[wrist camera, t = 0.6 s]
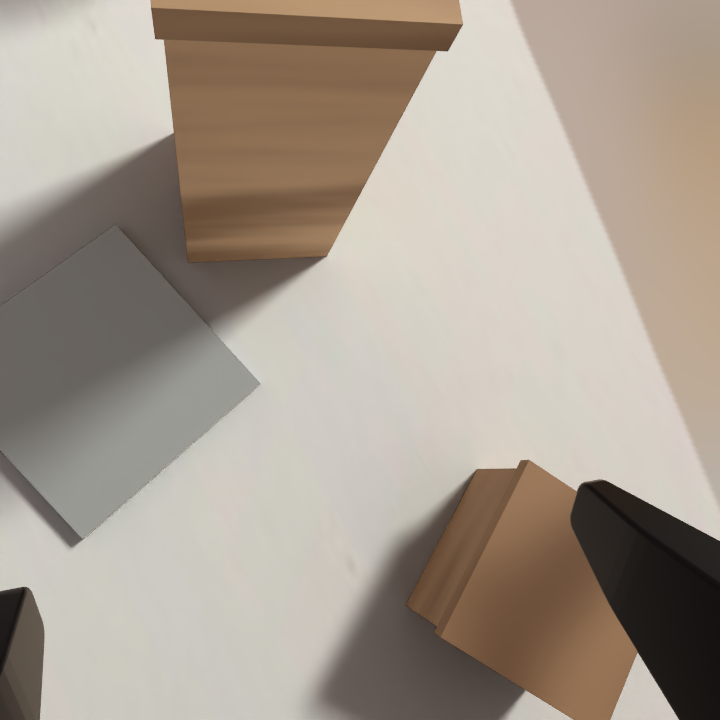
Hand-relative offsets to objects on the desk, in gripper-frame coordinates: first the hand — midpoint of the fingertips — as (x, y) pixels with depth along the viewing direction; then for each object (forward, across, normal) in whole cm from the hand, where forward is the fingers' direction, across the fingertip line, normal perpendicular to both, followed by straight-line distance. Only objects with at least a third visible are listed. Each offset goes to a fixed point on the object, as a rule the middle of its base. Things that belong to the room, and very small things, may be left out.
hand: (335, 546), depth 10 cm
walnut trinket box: (+8, -9, +12) cm, 17 cm away
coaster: (+14, +5, +5) cm, 15 cm away
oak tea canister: (+18, -1, 0) cm, 18 cm away
